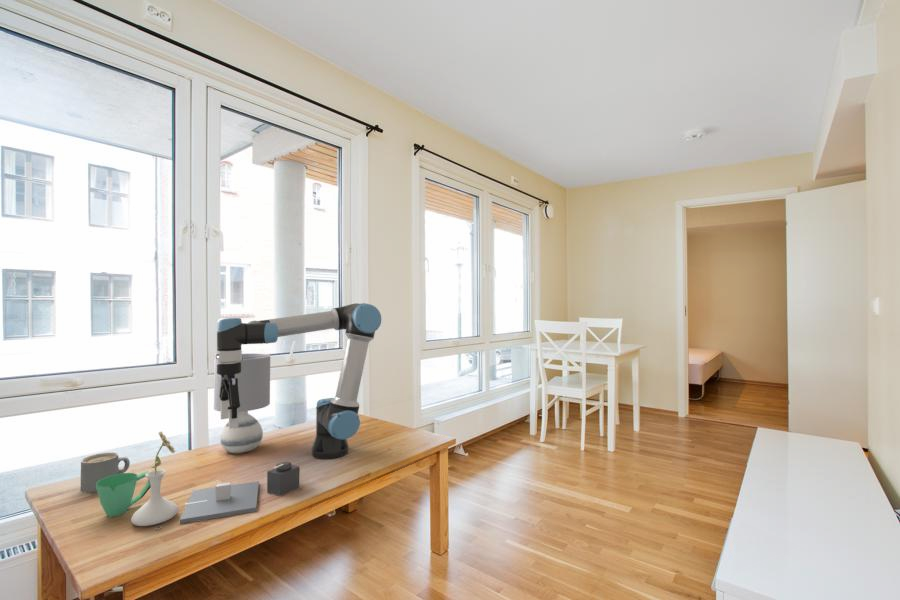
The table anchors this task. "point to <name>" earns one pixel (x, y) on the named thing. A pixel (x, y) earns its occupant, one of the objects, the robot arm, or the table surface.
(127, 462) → the coffee mug
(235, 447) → the lamp
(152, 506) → the flower in vase
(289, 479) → the knob
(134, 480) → the mug
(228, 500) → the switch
